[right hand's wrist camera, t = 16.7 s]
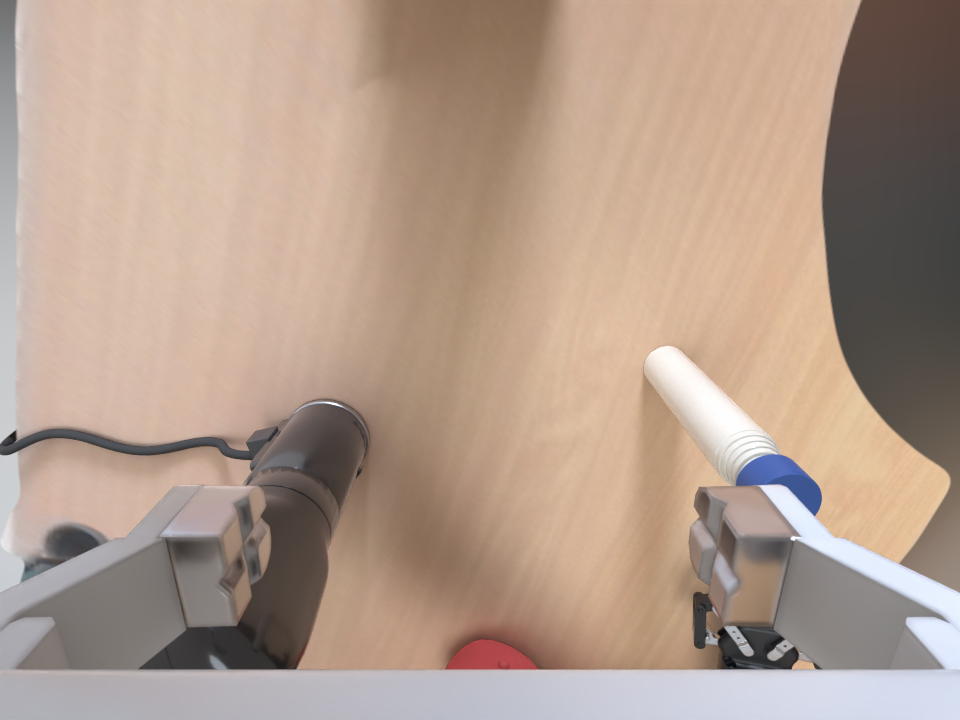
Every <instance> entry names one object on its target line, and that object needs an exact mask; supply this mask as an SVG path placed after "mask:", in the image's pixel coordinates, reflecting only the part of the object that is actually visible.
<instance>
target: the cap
mask: <svg viewBox="0 0 960 720" xmlns="http://www.w3.org/2000/svg"><path fill="white" fill-rule="evenodd" d="M778 484H780V485H783V486H785V487H787V488H788V489H789V490H790V491H791V492H792V493H793V494H794V495H795V496H796V497H797V498H798V499H799V500H800V502H801V503H802V504H803V505H804V506H805V507H806V508H807V509H808V510H809V511H810V512H811V513H812V514H813V515H814V516H815V515H816V514H817V512H818V510H819V508H820V506H821V501H822V495H821V491H820V488H819V486H818V485H817V483H816V482H815V481H814V480H813V479H811V478H810V477H809V476H808V475H807V474H806V473H805V472H804V471H803V470H802V469H801V468H800V467H799V466H798V465H797V464H796V463H795V462H794V461H793V460H791V459H790V458H788V457H786V456H783V455H777V454H770V455H764V456H761V457H758V458H756V459H754V460H752V461H751V462H749V463H748V464H747V465H746V466H745V467H744V468H743V469H742V470H741V471H740V473H739V475H738V477H737V480H736V486H753V485H778Z"/></svg>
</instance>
